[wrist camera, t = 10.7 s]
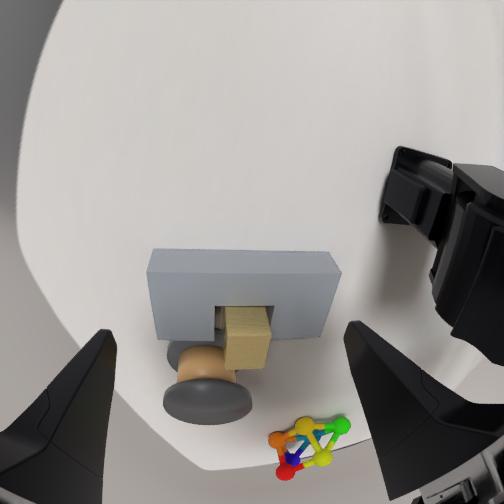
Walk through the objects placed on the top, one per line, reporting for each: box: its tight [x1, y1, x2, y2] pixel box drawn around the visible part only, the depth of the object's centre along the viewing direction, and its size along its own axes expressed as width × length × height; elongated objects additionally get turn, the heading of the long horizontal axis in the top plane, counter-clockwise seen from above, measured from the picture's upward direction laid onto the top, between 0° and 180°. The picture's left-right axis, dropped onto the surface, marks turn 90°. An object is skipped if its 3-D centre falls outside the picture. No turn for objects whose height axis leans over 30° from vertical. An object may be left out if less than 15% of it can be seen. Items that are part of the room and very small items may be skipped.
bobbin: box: [163, 328, 252, 425], centre depth 25 cm, size 8×8×7 cm
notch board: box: [146, 249, 342, 341], centre depth 23 cm, size 14×7×3 cm, turn 85°
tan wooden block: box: [221, 306, 272, 370], centre depth 22 cm, size 3×4×6 cm
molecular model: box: [268, 417, 351, 481], centre depth 39 cm, size 11×10×15 cm
